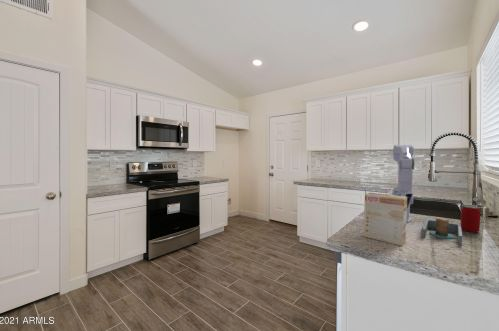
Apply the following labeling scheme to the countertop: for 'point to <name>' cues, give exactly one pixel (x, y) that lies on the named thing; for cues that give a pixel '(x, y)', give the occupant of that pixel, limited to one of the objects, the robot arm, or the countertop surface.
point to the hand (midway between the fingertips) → (404, 208)
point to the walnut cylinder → (442, 227)
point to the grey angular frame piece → (452, 228)
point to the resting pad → (442, 236)
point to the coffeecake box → (385, 218)
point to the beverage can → (470, 218)
